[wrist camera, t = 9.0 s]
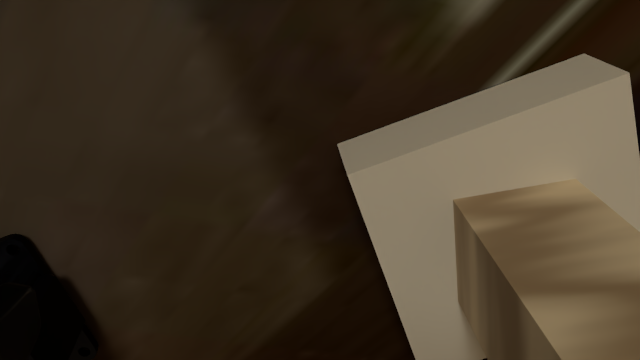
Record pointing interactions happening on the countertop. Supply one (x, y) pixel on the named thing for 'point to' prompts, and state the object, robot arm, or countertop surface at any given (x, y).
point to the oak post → (548, 274)
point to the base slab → (486, 179)
